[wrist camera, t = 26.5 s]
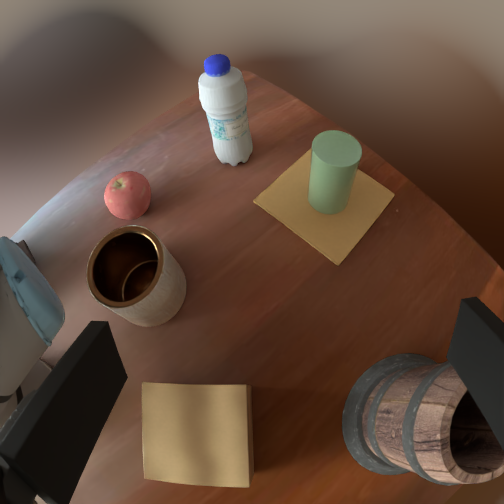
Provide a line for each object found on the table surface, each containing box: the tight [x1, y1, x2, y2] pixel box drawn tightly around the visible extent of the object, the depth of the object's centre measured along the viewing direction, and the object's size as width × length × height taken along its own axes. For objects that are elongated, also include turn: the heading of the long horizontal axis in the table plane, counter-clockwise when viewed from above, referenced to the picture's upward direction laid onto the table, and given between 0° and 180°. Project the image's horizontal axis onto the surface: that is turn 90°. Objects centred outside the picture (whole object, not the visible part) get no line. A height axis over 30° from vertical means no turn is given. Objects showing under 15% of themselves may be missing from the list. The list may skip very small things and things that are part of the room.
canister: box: [307, 130, 362, 214], centre depth 42 cm, size 6×6×11 cm
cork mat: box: [253, 148, 395, 266], centre depth 48 cm, size 16×16×1 cm
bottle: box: [198, 54, 253, 166], centre depth 44 cm, size 7×7×20 cm
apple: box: [104, 171, 151, 220], centre depth 46 cm, size 7×7×8 cm
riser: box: [142, 382, 254, 487], centre depth 33 cm, size 12×12×6 cm
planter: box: [86, 225, 187, 327], centre depth 39 cm, size 11×11×10 cm
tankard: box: [342, 353, 504, 486], centre depth 25 cm, size 24×17×20 cm
